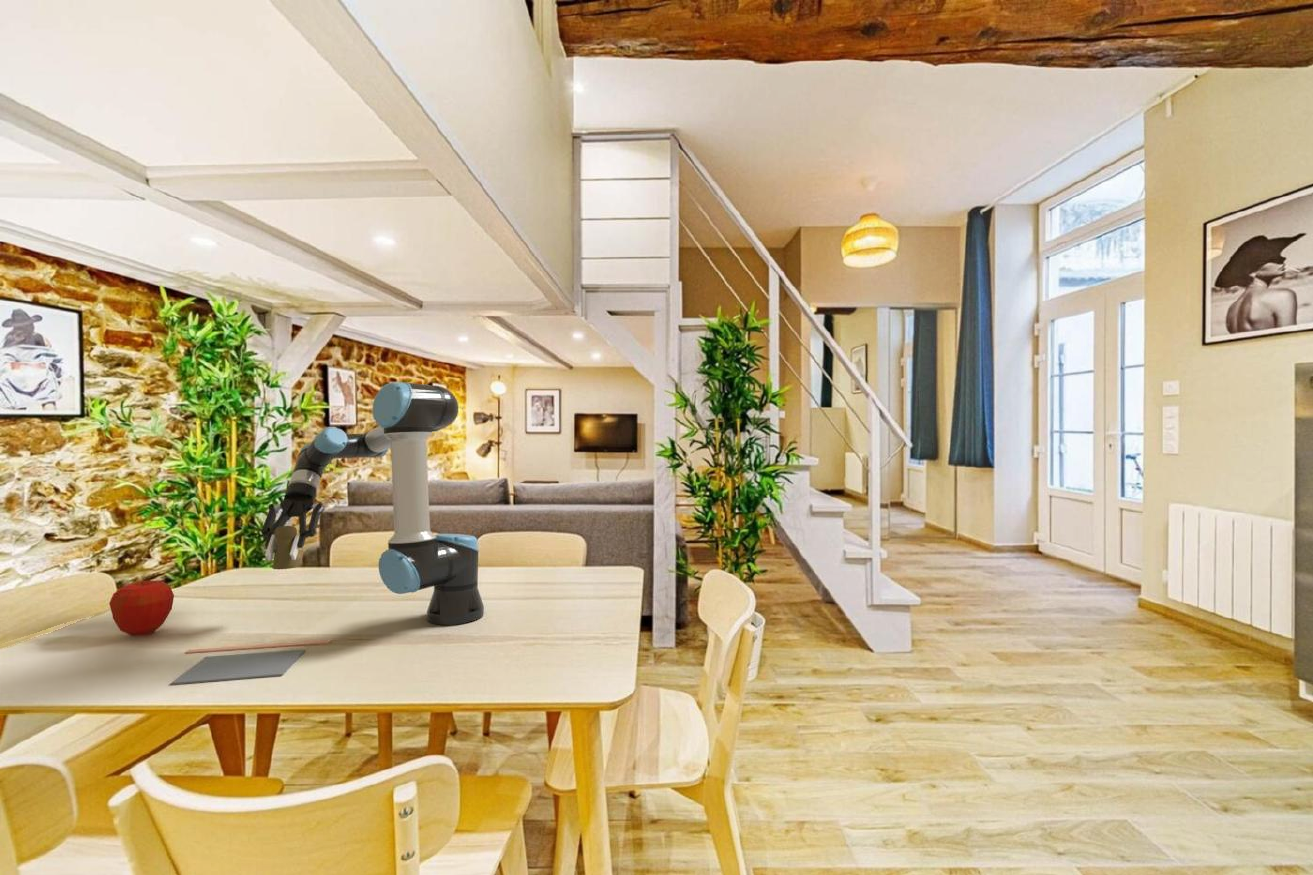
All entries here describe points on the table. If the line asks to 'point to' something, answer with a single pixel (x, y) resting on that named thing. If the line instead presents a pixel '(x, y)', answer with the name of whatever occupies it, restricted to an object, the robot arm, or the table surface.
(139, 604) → the apple
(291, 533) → the cork
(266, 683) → the table surface
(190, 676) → the mat
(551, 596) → the table surface
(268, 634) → the table surface
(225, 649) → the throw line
